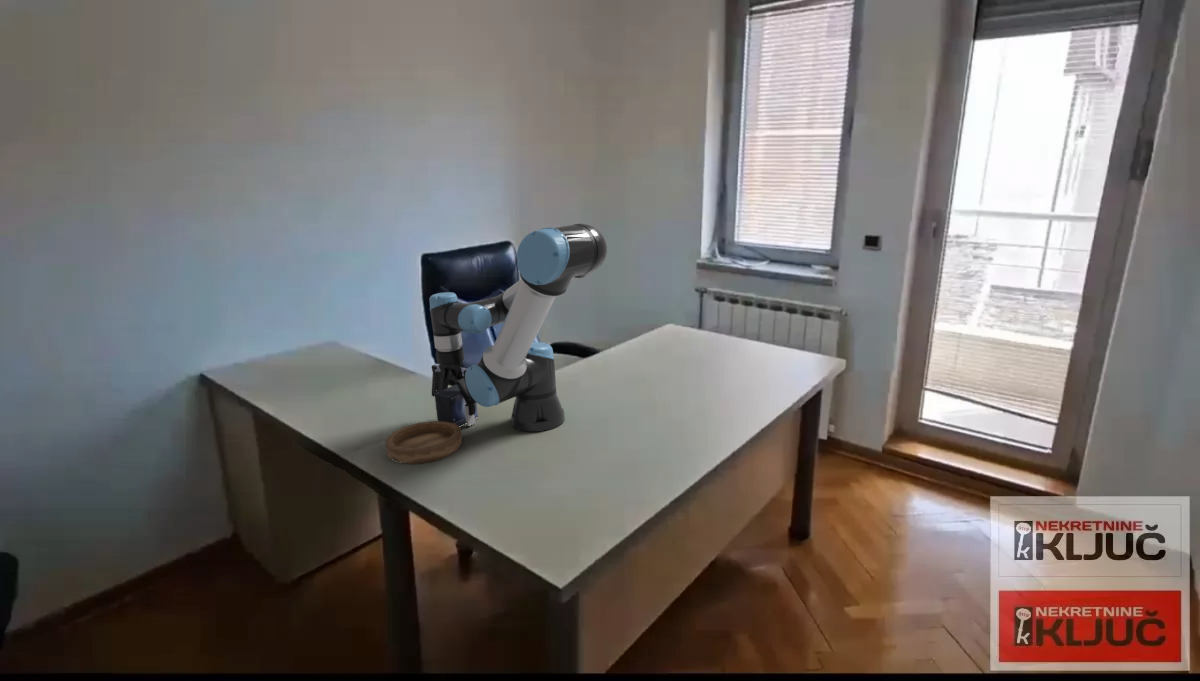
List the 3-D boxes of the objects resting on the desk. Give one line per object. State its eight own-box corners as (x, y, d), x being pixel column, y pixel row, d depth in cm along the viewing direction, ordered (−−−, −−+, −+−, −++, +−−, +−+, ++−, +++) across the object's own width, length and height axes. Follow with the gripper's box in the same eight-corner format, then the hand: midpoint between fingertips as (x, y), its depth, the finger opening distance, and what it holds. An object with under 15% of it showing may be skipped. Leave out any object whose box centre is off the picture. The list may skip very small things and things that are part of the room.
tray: (476, 440, 166) (475, 427, 165) (423, 469, 151) (421, 456, 150) (427, 428, 176) (425, 417, 175) (372, 455, 161) (370, 442, 160)
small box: (453, 431, 173) (449, 396, 170) (437, 428, 176) (432, 393, 174) (479, 418, 181) (475, 384, 179) (463, 415, 185) (459, 382, 182)
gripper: (487, 348, 170) (495, 423, 176) (431, 341, 182) (440, 412, 188) (468, 355, 164) (477, 433, 170) (411, 347, 176) (422, 420, 182)
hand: (458, 422), depth 179 cm, fingers open, 9 cm apart
